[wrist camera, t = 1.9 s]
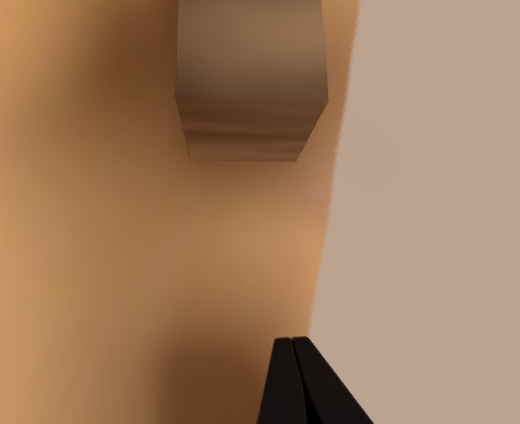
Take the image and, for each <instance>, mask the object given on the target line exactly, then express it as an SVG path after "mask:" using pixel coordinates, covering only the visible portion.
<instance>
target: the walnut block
mask: <svg viewBox="0 0 520 424" xmlns="http://www.w3.org/2000/svg"><path fill="white" fill-rule="evenodd" d="M175 96H176V100H177V105H178V109H179V113H180V117H181V121H182V125H183V129H184V133H185V137H186V141H187V146H188V150H189V154H190V158H191V160H214V161H296V160H297V158H298V156H299V154H300V153H301V151H302V149H303V147H304V145H305V143H306V141H307V140H308V138H309V136H310V134H311V132H312V130H313V128H314V127H315V125H316V123H317V121H318V119H319V117H320V115H321V114H322V112H323V110H324V108H325V106H326V104H327V102H328V101H329V100H328V87H327V74H326V60H325V47H324V34H323V21H322V7H321V0H178V27H177V60H176V93H175Z"/></svg>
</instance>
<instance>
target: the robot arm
mask: <svg viewBox="0 0 520 424" xmlns="http://www.w3.org/2000/svg"><path fill="white" fill-rule="evenodd" d="M256 424H374V423H373V422H372V420H371V419H370V418H369V416H368V415H367V414H366V413H365V411H364V410H363V408H362V407H361V406H360V405H359V403H358V402H357V401H356V399H355V398H354V397H353V395H352V394H351V393H350V391H349V390H348V389H347V387H346V386H345V385H344V383H343V382H342V381H341V380H340V378H339V377H338V376H337V374H336V373H335V372H334V370H333V369H332V368H331V366H330V365H329V364H328V362H327V361H326V360H325V359H324V357H323V356H322V355H321V353H320V352H319V351H318V349H317V348H316V347H315V345H314V344H313V343H312V341H311V340H310V339H309V338H308V337H306V336H302V337H292V338H291V339H290V338H289V337H281V338H275V339H274V343H273V347H272V352H271V357H270V362H269V366H268V371H267V376H266V381H265V385H264V390H263V395H262V400H261V404H260V409H259V414H258V419H257V423H256Z"/></svg>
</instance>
